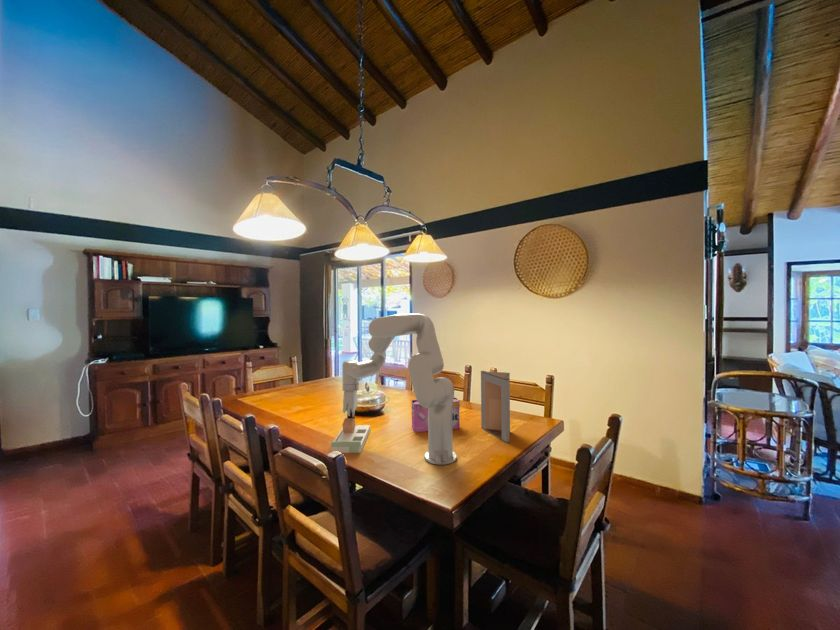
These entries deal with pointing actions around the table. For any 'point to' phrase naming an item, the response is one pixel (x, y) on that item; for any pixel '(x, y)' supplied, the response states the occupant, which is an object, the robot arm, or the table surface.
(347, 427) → the block
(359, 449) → the tray
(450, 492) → the table surface
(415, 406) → the gum box
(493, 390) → the cabinet
